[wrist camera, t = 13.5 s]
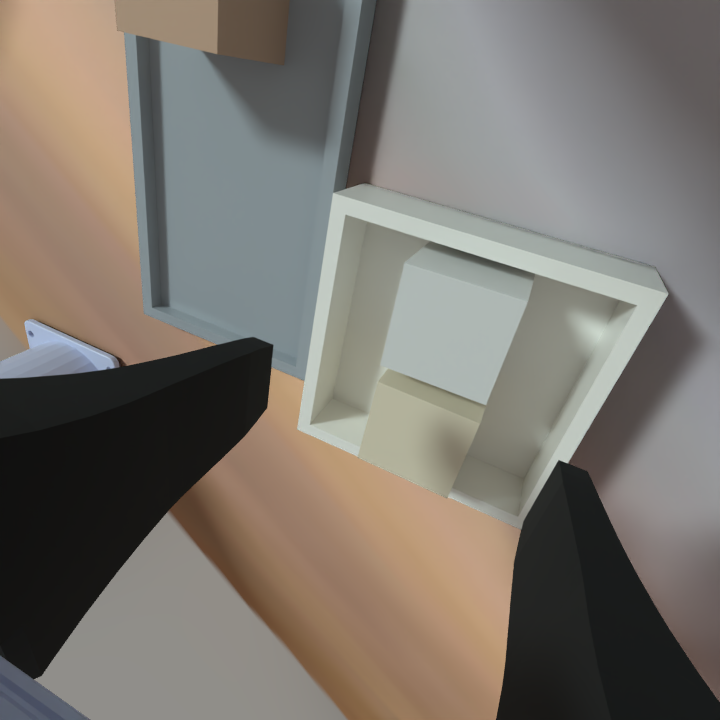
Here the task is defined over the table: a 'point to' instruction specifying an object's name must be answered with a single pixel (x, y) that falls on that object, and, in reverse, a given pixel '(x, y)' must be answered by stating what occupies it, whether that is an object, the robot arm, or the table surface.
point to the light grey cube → (455, 319)
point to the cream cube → (419, 431)
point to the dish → (523, 360)
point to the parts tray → (245, 175)
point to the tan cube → (211, 25)
